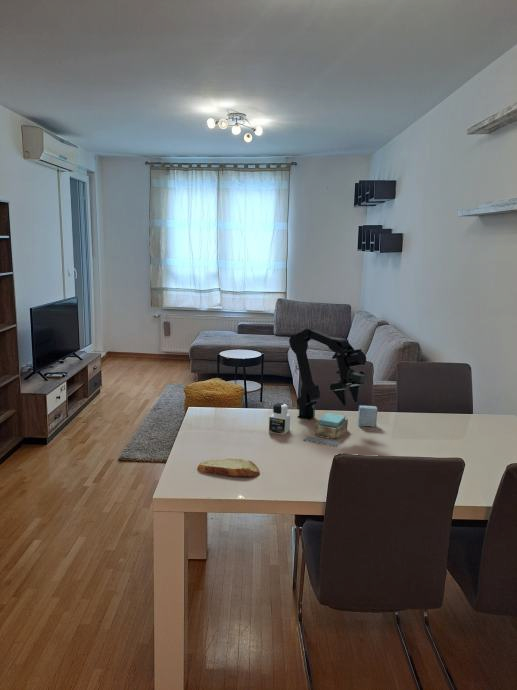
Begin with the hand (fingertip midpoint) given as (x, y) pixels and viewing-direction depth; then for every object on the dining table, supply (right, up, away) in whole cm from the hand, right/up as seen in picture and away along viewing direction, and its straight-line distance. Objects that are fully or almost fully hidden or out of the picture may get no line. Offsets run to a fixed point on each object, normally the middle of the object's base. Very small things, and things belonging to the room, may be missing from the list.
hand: (350, 403), depth 225 cm
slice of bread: (-50, -19, -43) cm, 69 cm away
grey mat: (-14, -14, -11) cm, 23 cm away
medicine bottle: (-31, -12, 0) cm, 33 cm away
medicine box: (+9, -11, +12) cm, 19 cm away
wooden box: (-8, -12, 0) cm, 15 cm away
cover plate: (-8, -8, 0) cm, 11 cm away
